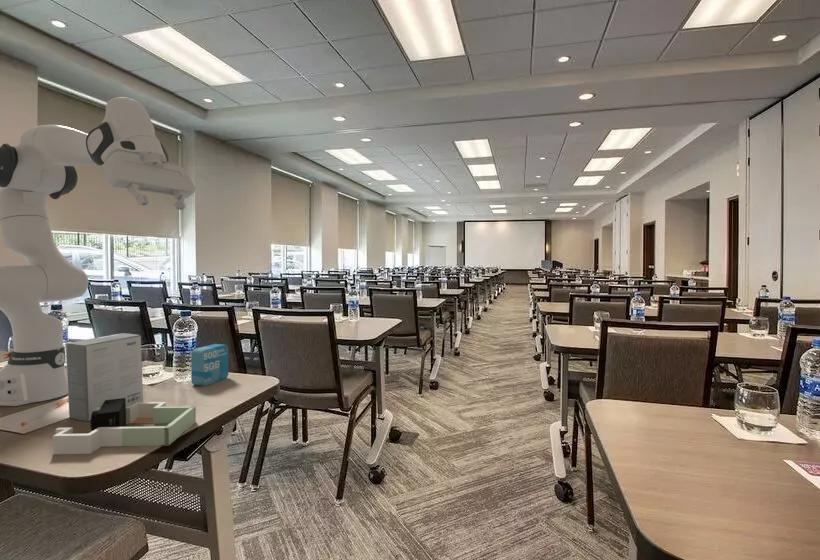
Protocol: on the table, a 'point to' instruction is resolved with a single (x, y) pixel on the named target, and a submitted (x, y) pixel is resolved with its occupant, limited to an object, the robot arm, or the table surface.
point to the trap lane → (130, 429)
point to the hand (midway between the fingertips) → (163, 206)
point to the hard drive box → (103, 372)
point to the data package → (209, 364)
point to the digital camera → (110, 414)
